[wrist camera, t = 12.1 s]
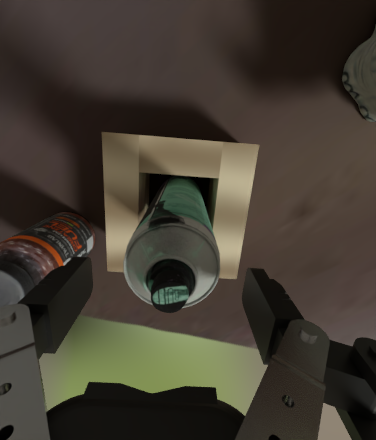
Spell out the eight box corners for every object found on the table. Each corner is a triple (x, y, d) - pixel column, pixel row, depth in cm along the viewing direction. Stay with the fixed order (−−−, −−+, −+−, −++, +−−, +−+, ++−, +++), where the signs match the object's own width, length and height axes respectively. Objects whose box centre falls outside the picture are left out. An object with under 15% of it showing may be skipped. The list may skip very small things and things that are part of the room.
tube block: (122, 134, 26) (101, 131, 20) (240, 144, 27) (259, 144, 20) (124, 243, 31) (107, 271, 24) (225, 250, 31) (236, 278, 25)
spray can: (149, 190, 29) (79, 283, 10) (185, 166, 28) (186, 216, 9) (174, 224, 30) (154, 362, 11) (209, 202, 29) (252, 312, 10)
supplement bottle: (106, 227, 30) (52, 285, 18) (83, 265, 32) (21, 340, 20) (58, 200, 29) (-34, 241, 17) (38, 240, 31) (-59, 304, 18)
